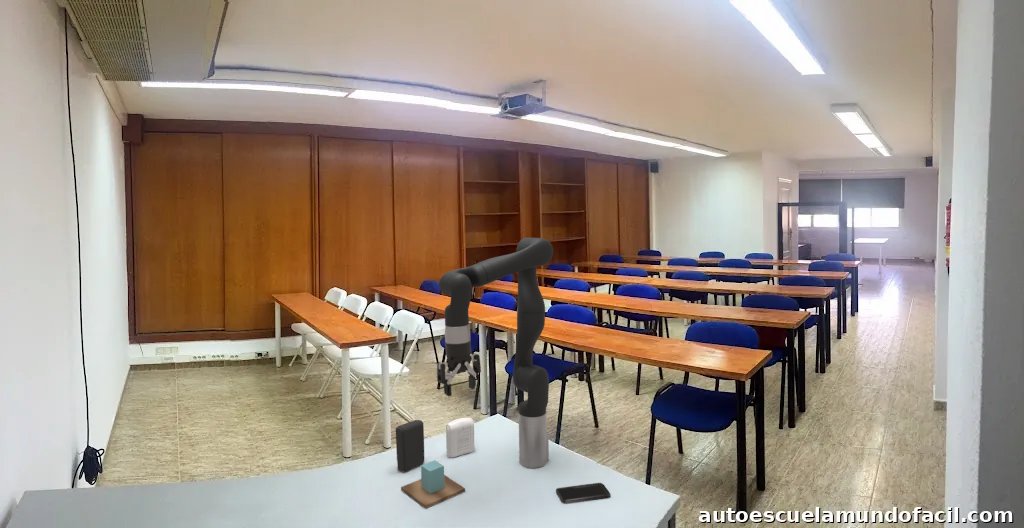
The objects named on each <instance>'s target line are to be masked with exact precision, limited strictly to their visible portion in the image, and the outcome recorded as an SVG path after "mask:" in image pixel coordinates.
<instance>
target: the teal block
mask: <svg viewBox="0 0 1024 528" xmlns="http://www.w3.org/2000/svg"><path fill="white" fill-rule="evenodd" d="M420 475H421V477H420V478H421V483H422V488H423V489H424V490H426V491H427V492H429V493H430V494H431V493H434V492H436V491H439V490H441V489H443V488H445V485H444V475H445V466H444V465H443V464H442V463H440V462H438V461H437V460H431V461H429V462H426V463H423V464H422V465H420Z"/></svg>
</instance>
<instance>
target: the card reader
mask: <svg viewBox="0 0 1024 528" xmlns="http://www.w3.org/2000/svg"><path fill="white" fill-rule="evenodd" d="M395 444H396V445H395V446H396V461H397V462H396V464H397V469H398V471H399V472H401V473H405V472H408V471H410V470H413V469H415V468H417V467H419V466H420V467H421V465H424V464H425V432H424V421H423V420H420V419H415V420H411V421H408V422H406V423H403V424H401V425H398V426H397V427H395Z"/></svg>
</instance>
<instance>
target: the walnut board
mask: <svg viewBox="0 0 1024 528" xmlns="http://www.w3.org/2000/svg"><path fill="white" fill-rule="evenodd" d="M444 485H445V488H443V489H441V490H439V491H436V492H434V493H431V494H430V493H429V492H427V491H426V490H424V489H423V488H422V483H421V479H418V480H415V481H413V482H409V483H408V484H405V485H403V486H401V487H400V491H402V492H403V494H405V495H406V496H408V497H410V498H411V499H412V500H413V501H415V502H416V503H417V504H419V505H420V506H421V507H422V508H423V509H425V510H426V509H428V508H430V507H433V506H436V505H438V504H440V503H442V502H445V501H447V500H449V499H452V498H453V497H456V496H458V495H460V494H463V493H465V492H466V487H464V486H462V485H461V484H460V483H458V482H456V481H455V480H453V479H452V478H450V477H449V476H447V475H445V474H444Z"/></svg>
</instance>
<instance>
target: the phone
mask: <svg viewBox="0 0 1024 528" xmlns="http://www.w3.org/2000/svg"><path fill="white" fill-rule="evenodd" d="M555 493H556V495H557V497H558V498H559V501H560V502H561V504H564V505H568V504H576V503H584V502H592V501H598V500H606V499H610V498H611V493H610V491H609V490H608V488H607V487H606V486H605V485H604V483H603V482H594V483H587V484H586V483H585V484H579V485H570V486H564V487H563V486H561V487H557V488H556V489H555Z"/></svg>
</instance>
